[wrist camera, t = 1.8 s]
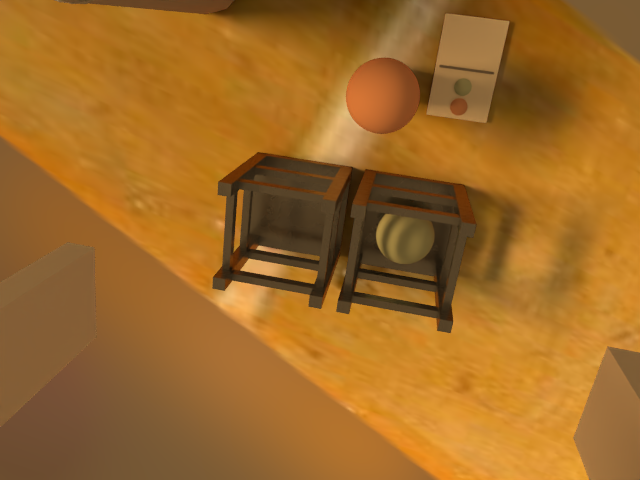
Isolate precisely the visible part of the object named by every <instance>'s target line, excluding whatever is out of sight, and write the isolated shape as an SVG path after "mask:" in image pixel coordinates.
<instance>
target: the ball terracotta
mask: <svg viewBox="0 0 640 480" xmlns="http://www.w3.org/2000/svg"><path fill="white" fill-rule="evenodd" d="M419 101H420V89H419V84H418V81H417V79H416V77H415V75H414V73H413V72H412V71H411V70H410V69H409V68H408V67H407V66H406V65H405V64H403V63H402V62H400V61H398V60H395V59H391V58H377V59H373V60H370V61H368V62H366V63H364V64H363V65H362V66H360V67H359V68H358V69H357V70H356V71H355V73H354V74H353V75H352V77H351V79H350V81H349V84H348V86H347V91H346V102H347V107H348V110H349V112H350V115H351V116H352V118H353V119H354V120H355V122H356V123H357V124H358V125H359V126H361V127H362V128H364V129H366V130H367V131H370V132H373V133H380V134H384V133H391V132H394V131H397V130H399V129H401V128H402V127H404V126H405V125H406V124H407V123H408V122H409V121H410V120H411V119H412V118H413V116H414V115H415V113H416V111H417V108H418V105H419Z"/></svg>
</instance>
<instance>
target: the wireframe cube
mask: <svg viewBox="0 0 640 480" xmlns="http://www.w3.org/2000/svg"><path fill="white" fill-rule="evenodd" d="M352 168H353V167H348V166H342V165H336V164H329V163H323V162H317V161H310V160H304V159H298V158H291V157H285V156H279V155H272V154H266V153H260V152H258V153H257V154H255V155H254V156H252V157H251V158H250V159H248V160H247V161H246V162H244V163H243V164H242V165H240V166H239V167H238V168H236V169H235V170H234V171H232V172H231V173H230V174H228V175H227V176H226V177H224V178H223V179H222V180H220V181H219V182H218V195H222V196H227V200H226V216H225V232H224V248H223V265H222V267H221V268H220V270H219V271H218V272H217V273H216V274H215V275H214V277H213V289H218V290H224V291H225V290H226V288H227V287H228V286H229V284H230V283H231V282H232V280H233V281H238V282H244V283H249V284H255V285H260V286H265V287H271V288H276V289H282V290H287V291H292V292H298V293H303V294H309V295H310V299H309V307H314V308H319V309H321V308H322V305H323V302H324V299H325V296H326V293H327V291H328V288H329V285H330V282H331V279H332V276H333V274H334V271H335V268H336V265H337V262H338V259H339V256H340V250H341V243H342V236H343V229H344V222H345V216H346V209H347V202H348V195H349V188H350V181H351V174H352ZM239 189H242V190H244V197H243V210H242V224H241V238H240V246H239V247H238V248H237V249H236V250H235V252H234V253H233V250H234V236H235V221H236V207H237V192H238V190H239ZM259 245H260V246H266V247H271V248H277V249H283V250H288V251H294V252H300V253H305V254H311V255H317V256H320V260H319V261H316V260H311V259H305V258H299V257H294V256H288V255H283V254H277V253H271V252H266V251H260V250H256V248H257V247H258V246H259ZM249 258H250V259H255V260H261V261H266V262H272V263H277V264H283V265H289V266H294V267H300V268H305V269H311V270H316V271H318V276H317V279H316V282H315V284H310V283H305V282H299V281H294V280H288V279H283V278H277V277H272V276H266V275H261V274H256V273H250V272H245V271H240V270H241V268H242V267H243V266H244V264H245V263H246V262H247V260H248V259H249Z"/></svg>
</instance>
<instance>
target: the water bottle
mask: <svg viewBox="0 0 640 480" xmlns="http://www.w3.org/2000/svg"><path fill="white" fill-rule="evenodd" d="M55 1H58V2H64V3H70V4H87V3H90V4H101V5H112V6H123V7H134V8H145V9H155V10H166V11H177V12H188V13H199V14H209V13H213V12H217V11H221V10H225V9H227V8H228V7H229V6H230V5H231V3H232V2H233V1H234V0H55Z"/></svg>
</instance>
